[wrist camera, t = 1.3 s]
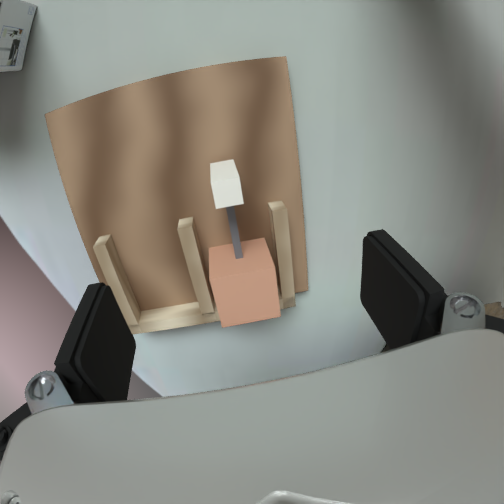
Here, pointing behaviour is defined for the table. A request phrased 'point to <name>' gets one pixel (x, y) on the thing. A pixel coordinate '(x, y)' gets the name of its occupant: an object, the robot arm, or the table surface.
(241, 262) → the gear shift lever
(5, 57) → the light bulb box
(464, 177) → the table surface
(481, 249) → the table surface
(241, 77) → the lane shelf
